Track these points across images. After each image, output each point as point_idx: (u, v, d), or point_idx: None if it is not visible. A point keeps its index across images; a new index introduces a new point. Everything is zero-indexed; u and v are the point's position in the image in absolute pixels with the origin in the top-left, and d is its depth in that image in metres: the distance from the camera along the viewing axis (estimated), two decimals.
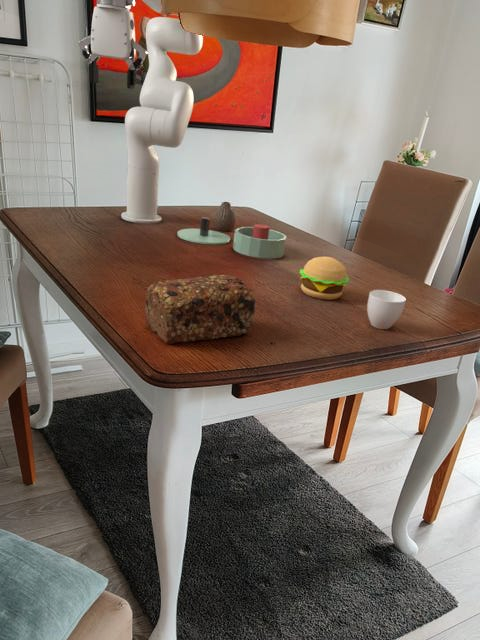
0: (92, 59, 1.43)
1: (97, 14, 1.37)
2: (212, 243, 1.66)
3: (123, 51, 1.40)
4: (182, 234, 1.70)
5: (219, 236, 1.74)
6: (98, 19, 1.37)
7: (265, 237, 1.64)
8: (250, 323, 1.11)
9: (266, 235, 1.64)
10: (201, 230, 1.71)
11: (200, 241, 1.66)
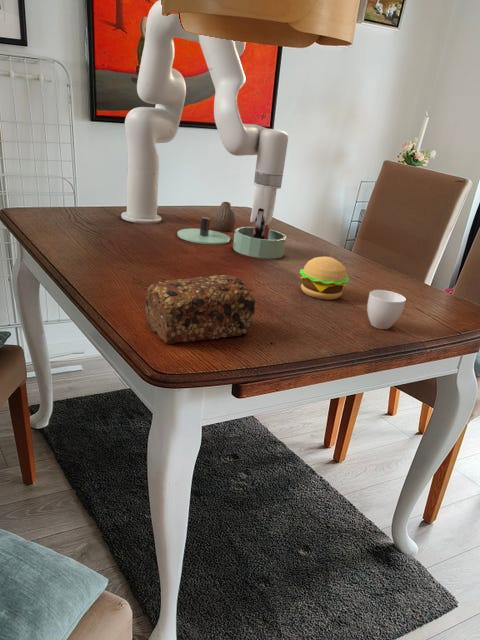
0: (264, 231, 1.62)
1: (272, 194, 1.56)
2: (212, 243, 1.66)
3: (272, 215, 1.65)
4: (182, 234, 1.70)
5: (219, 236, 1.74)
6: (272, 197, 1.57)
7: (265, 237, 1.64)
8: (250, 323, 1.11)
9: (266, 235, 1.64)
10: (201, 230, 1.71)
11: (200, 241, 1.66)
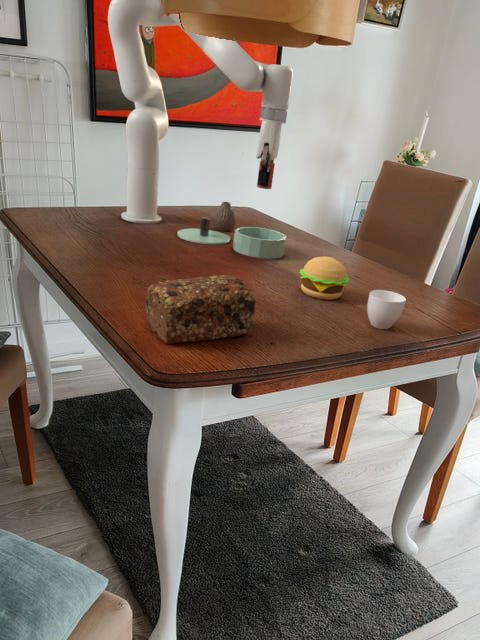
0: (269, 166, 1.68)
1: (277, 129, 1.63)
2: (212, 243, 1.66)
3: (277, 152, 1.72)
4: (182, 234, 1.70)
5: (219, 236, 1.74)
6: (277, 132, 1.64)
7: (270, 173, 1.70)
8: (250, 324, 1.11)
9: (271, 171, 1.70)
10: (201, 230, 1.71)
11: (200, 241, 1.66)
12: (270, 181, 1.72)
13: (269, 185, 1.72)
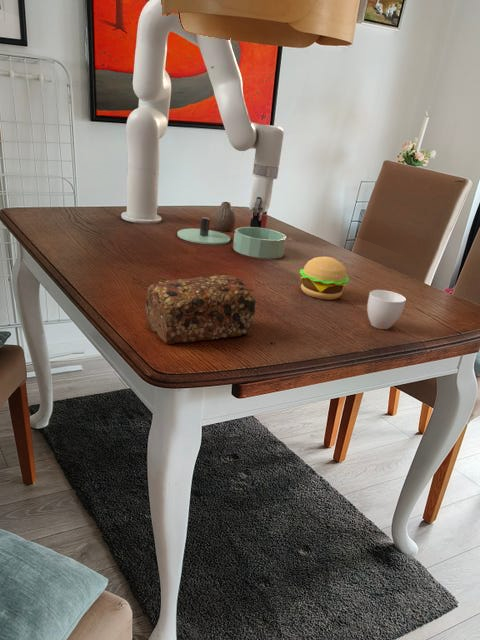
0: (261, 216, 1.76)
1: (269, 184, 1.73)
2: (212, 243, 1.66)
3: (269, 204, 1.82)
4: (182, 234, 1.70)
5: (219, 236, 1.74)
6: (269, 187, 1.73)
7: (263, 224, 1.80)
8: (250, 324, 1.11)
9: (264, 222, 1.80)
10: (201, 230, 1.71)
11: (200, 241, 1.66)
12: None
13: None
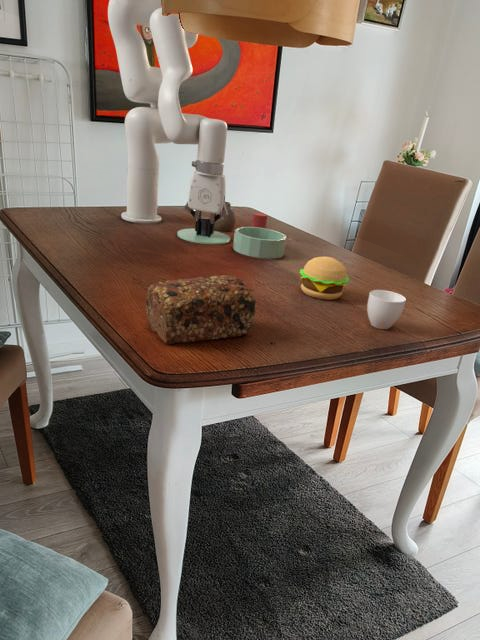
0: None
1: None
2: (212, 243, 1.66)
3: None
4: (182, 234, 1.70)
5: (219, 236, 1.74)
6: None
7: (263, 224, 1.80)
8: (250, 324, 1.11)
9: (264, 222, 1.80)
10: (201, 230, 1.71)
11: (200, 241, 1.66)
12: None
13: None
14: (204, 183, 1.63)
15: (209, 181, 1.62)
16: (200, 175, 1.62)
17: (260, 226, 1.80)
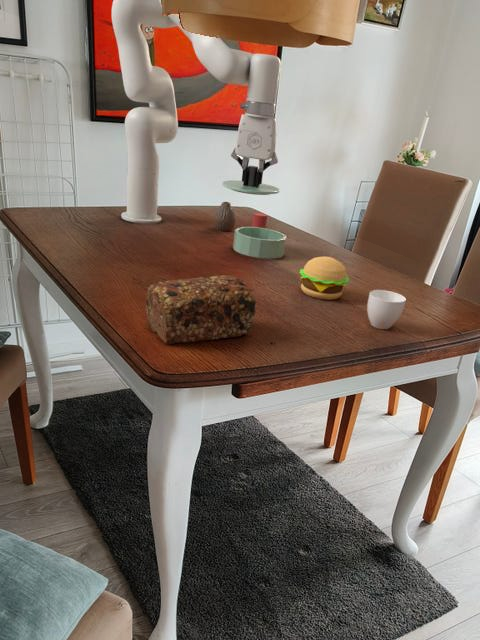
0: None
1: None
2: (262, 192, 1.54)
3: None
4: (228, 184, 1.58)
5: (267, 187, 1.61)
6: None
7: (263, 224, 1.80)
8: (250, 324, 1.11)
9: (264, 222, 1.80)
10: (248, 180, 1.58)
11: (249, 190, 1.53)
12: None
13: None
14: (254, 126, 1.50)
15: (259, 124, 1.50)
16: (250, 117, 1.50)
17: (260, 226, 1.80)
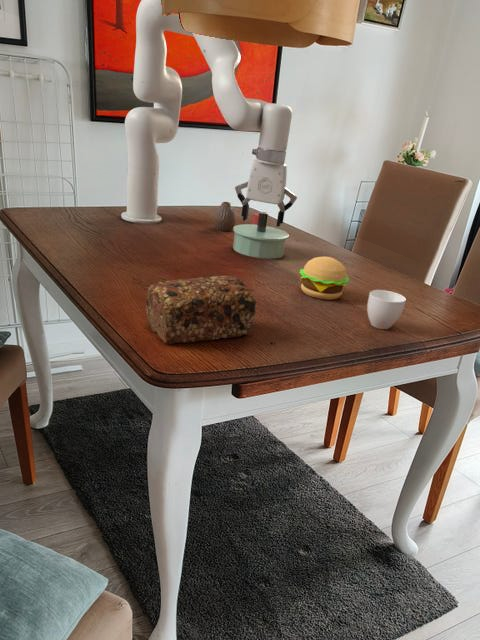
0: None
1: None
2: (272, 239, 1.58)
3: None
4: (239, 230, 1.62)
5: (277, 232, 1.65)
6: None
7: None
8: (251, 324, 1.11)
9: None
10: (259, 226, 1.63)
11: (260, 237, 1.58)
12: None
13: None
14: (265, 172, 1.54)
15: (270, 170, 1.54)
16: (261, 163, 1.53)
17: None
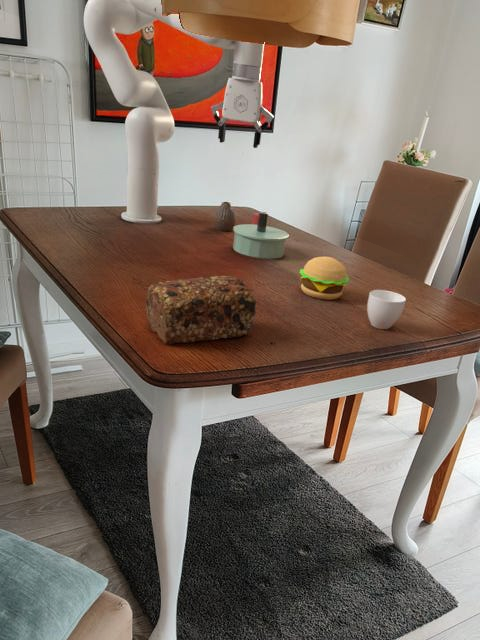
0: None
1: None
2: (272, 239, 1.58)
3: None
4: (239, 230, 1.62)
5: (277, 232, 1.65)
6: None
7: None
8: (251, 324, 1.11)
9: None
10: (259, 226, 1.63)
11: (260, 237, 1.58)
12: None
13: None
14: (240, 89, 1.53)
15: (246, 87, 1.53)
16: (236, 80, 1.53)
17: None
